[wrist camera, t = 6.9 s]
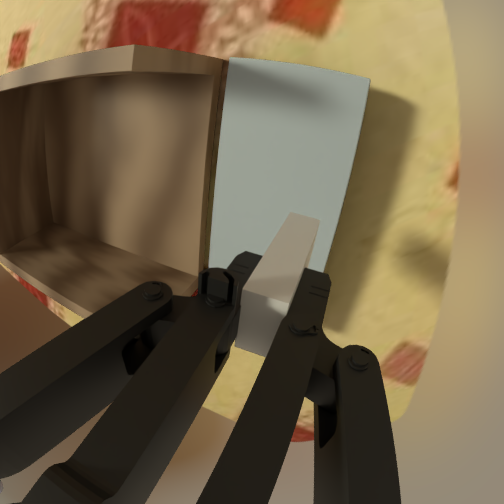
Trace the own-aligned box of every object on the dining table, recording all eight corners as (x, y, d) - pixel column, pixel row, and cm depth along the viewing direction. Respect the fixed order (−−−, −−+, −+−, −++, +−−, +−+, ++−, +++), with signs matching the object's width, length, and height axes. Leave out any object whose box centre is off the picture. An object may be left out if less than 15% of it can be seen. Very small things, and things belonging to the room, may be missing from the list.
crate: (55, 225, 31) (-2, 260, 24) (47, 72, 22) (-26, 86, 14) (203, 282, 27) (144, 351, 19) (223, 59, 17) (134, 44, 10)
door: (206, 301, 24) (301, 338, 22) (229, 57, 15) (369, 78, 13) (213, 293, 25) (305, 328, 23) (238, 59, 16) (370, 80, 14)
